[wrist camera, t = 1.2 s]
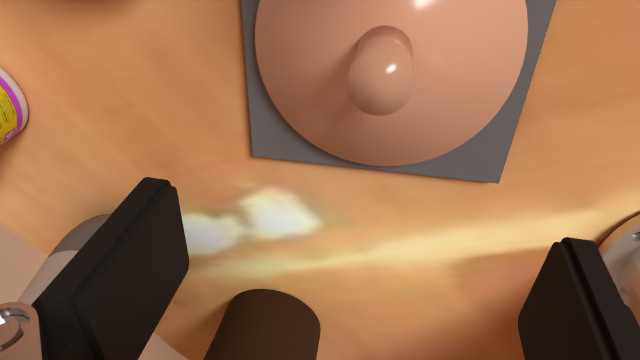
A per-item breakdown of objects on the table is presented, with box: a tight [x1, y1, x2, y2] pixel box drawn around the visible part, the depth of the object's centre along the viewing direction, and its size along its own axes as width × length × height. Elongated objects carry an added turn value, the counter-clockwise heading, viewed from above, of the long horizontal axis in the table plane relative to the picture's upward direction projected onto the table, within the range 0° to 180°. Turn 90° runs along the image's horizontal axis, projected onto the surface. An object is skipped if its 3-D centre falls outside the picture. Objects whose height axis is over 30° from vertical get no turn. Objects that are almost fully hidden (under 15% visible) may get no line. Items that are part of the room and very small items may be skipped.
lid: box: [255, 0, 528, 166], centre depth 24 cm, size 15×15×6 cm
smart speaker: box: [17, 215, 111, 305], centre depth 35 cm, size 10×9×14 cm
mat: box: [241, 0, 556, 184], centre depth 26 cm, size 17×17×1 cm
